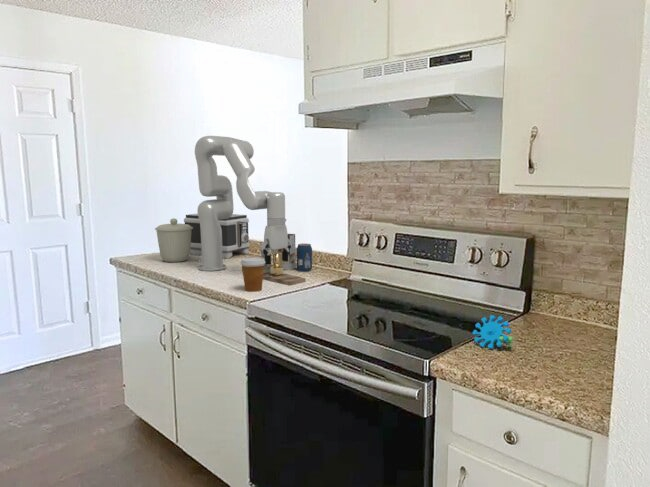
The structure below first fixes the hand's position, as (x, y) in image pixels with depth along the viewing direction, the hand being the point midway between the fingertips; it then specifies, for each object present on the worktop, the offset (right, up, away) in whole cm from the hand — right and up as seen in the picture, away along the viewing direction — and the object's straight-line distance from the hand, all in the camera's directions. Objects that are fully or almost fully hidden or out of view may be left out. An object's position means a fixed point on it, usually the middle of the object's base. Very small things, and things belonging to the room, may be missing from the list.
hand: (276, 262), depth 215 cm
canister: (-54, -1, +40) cm, 68 cm away
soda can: (+11, -4, +17) cm, 21 cm away
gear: (+65, -20, -78) cm, 104 cm away
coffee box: (+2, -4, +22) cm, 22 cm away
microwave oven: (-36, +2, +59) cm, 69 cm away
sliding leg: (-1, -5, 0) cm, 5 cm away
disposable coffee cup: (-7, -10, -18) cm, 22 cm away
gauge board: (0, -7, 0) cm, 7 cm away
